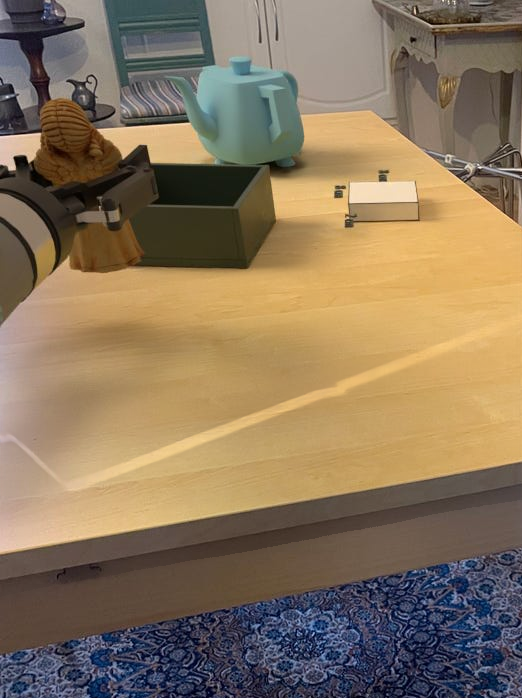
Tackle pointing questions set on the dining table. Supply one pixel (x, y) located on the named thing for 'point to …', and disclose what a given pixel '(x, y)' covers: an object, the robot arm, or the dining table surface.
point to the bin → (205, 215)
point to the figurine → (82, 166)
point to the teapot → (245, 113)
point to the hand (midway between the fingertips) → (104, 158)
